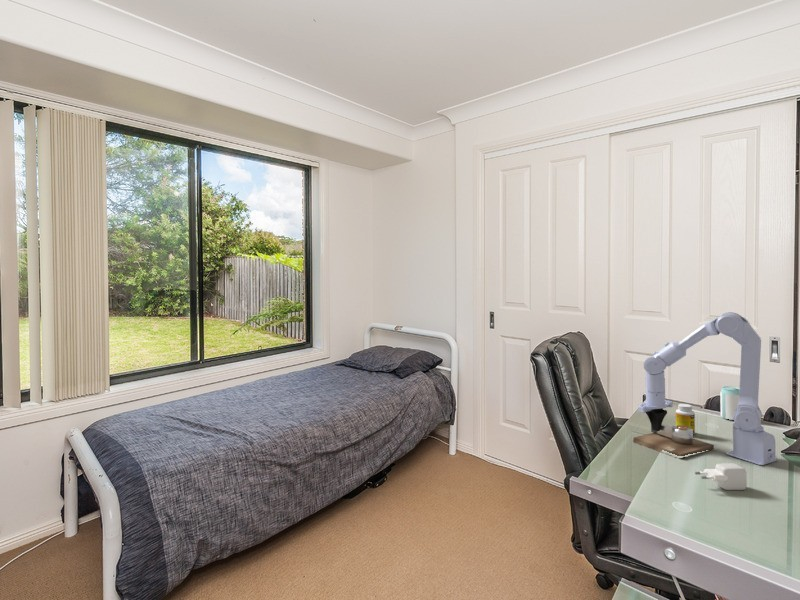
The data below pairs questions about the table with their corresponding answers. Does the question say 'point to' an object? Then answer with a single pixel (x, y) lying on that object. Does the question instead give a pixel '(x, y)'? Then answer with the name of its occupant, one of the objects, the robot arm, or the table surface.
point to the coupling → (676, 433)
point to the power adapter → (727, 476)
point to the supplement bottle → (685, 416)
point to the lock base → (671, 444)
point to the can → (729, 401)
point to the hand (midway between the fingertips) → (656, 430)
